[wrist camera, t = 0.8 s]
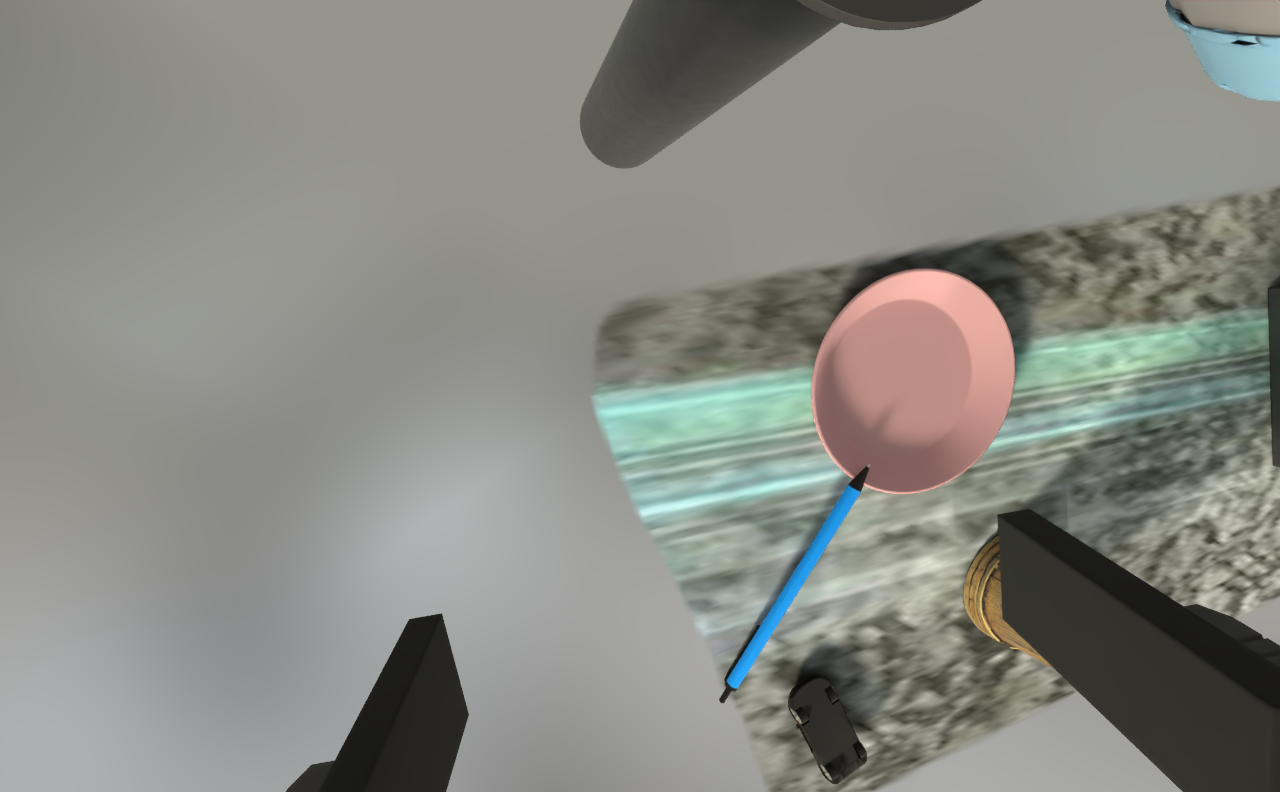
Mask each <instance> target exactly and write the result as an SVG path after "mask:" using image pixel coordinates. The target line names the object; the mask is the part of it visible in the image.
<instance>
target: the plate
mask: <svg viewBox="0 0 1280 792" xmlns="http://www.w3.org/2000/svg"><path fill="white" fill-rule="evenodd" d="M1014 383H1015V354H1014V347H1013V342H1012V338H1011V335H1010V331H1009V329H1008V326H1007V324H1006V321H1005V319H1004V317H1003V315H1002V313H1001V312H1000V310H999V309H998V307H997V306H996V304H995V303H994V302H993V300H992V299H991V298H990V297H989V296H988V295H987V294H986V293H985V292H984V291H983V290H982V289H981V288H980V287H978V286H977V285H976V284H974V283H973V282H971V281H970V280H968V279H966V278H964V277H962V276H960V275H958V274H955V273H952V272H949V271H945V270H940V269H932V268H917V269H909V270H904V271H900V272H897V273H894V274H891V275H888V276H886V277H884V278H882V279H879V280H878V281H876V282H874V283H872V284H871V285H869V286H868V287H866V288H865V289H863V290H862V291H861V292H860V293H858V294H857V295H856V296H855V297H854V298H853V299H852V300H851V301H850V302H849V303H848V304H847V305H846V306H845V307H844V308H843V309H842V310H841V312H840V313H839V314H838V315H837V317H836V318H835V320H834V321H833V323H832V324H831V326H830V327H829V329H828V331H827V333H826V335H825V337H824V339H823V341H822V344H821V346H820V349H819V351H818V354H817V358H816V361H815V365H814V370H813V376H812V386H811V402H812V411H813V417H814V421H815V425H816V429H817V432H818V434H819V437H820V439H821V441H822V443H823V445H824V447H825V449H826V451H827V452H828V454H829V455H830V457H831V458H832V460H833V461H834V462H835V463H836V464H837V465H838V467H839V468H840V469H841V470H842V471H844V472H845V473H846V474H847V475H848V476H850V477H851V478H852V479H854V478H855V477H856V476H857V475H858V474H859V473H860V472H861V471H862V470H863V468H864V467H865V466H867V465H868V464H869V465H870V466H869V471H868V474H867V476H866V479H865V482H864V485H865V486H867V487H869V488H872V489H875V490H878V491H882V492H887V493H895V494H909V493H917V492H922V491H926V490H930V489H933V488H936V487H938V486H941V485H943V484H945V483H947V482H949V481H951V480H953V479H954V478H956V477H957V476H959V475H960V474H962V473H963V472H965V471H966V470H967V469H968V468H969V467H971V466H972V465H973V464H974V463H975V462H976V461H977V460H978V459H979V458H980V457H981V456H982V455H983V454H984V452H985V451H986V450H987V449H988V447H989V446H990V445H991V443H992V442H993V440H994V439H995V437H996V435H997V434H998V432H999V430H1000V428H1001V426H1002V424H1003V422H1004V420H1005V417H1006V415H1007V412H1008V409H1009V406H1010V403H1011V399H1012V395H1013V390H1014Z"/></svg>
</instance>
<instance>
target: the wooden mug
mask: <svg viewBox="0 0 1280 792" xmlns="http://www.w3.org/2000/svg"><path fill="white" fill-rule="evenodd" d="M963 603H964V605H965V608H966V611H967V614H968V616H969V617H970V619H971V620H972V621H973V623H974V624H975V625H976V626H977V627H978V628H979V629H980V630H981V631H982V632H983V633H985V634H987V635H988V636H990V637H992V638H994V639H995V640H997V641H999V642H1001V643H1002V644H1004V645H1006V646H1008V647H1010V648H1013V649H1020V650H1022V651H1023V652H1025V653H1027V654H1029V655H1030V656H1032V657H1034V658H1036V659H1038V660H1039V661H1041V662H1043V663H1045V664H1046V665H1048V666H1050V667H1052V666H1051V665H1050V664H1049V663H1048V662H1047V661H1046V660H1045V659H1044V658H1043V657H1042V656H1041V655H1040V654H1039V653H1038V652H1036V651H1035V650H1034V649H1033V648H1032V647H1031V646H1030V645H1029V644H1028V643H1027V642H1026V641H1025V640H1024V639H1023V638H1022V637H1021V636H1020V635H1019V634H1018V633H1017V632H1016V631H1015V630H1014V629H1012V628H1011V627H1010V626H1009V625H1008V624H1007V623H1006V622H1005V621H1004V620H1003V618H1002V597H1001V576H1000V555H999V535H998V536H997V537H996V538H994V539H993V540H992V541H990V542H989V543H988V544H986V545H985V547H984V548H983V549H982V550H981V551H980V553H979V554H978V555H977V556H976V557H975V559H974V561H973V563H972V565H971V567H970V569H969V571H968V573H967V577H966V581H965V585H964V596H963ZM1052 668H1053V667H1052Z"/></svg>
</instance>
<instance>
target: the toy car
mask: <svg viewBox="0 0 1280 792" xmlns="http://www.w3.org/2000/svg"><path fill="white" fill-rule="evenodd" d="M831 685H832V684H831V683H830V682H829V681H828V680H827V679H825V678H824V677H822V676H820V675H811V676H809V677H807V678H805V679H803V680H802V681H801V682H799V683H798V684H797V685H796V686H795V687H794V688H793V689H792V691H791V692H790V695H789V700H788V707H789V710H790V712H791V714H792V716H793V718H794V719H795V721H796V723H797V725H796V727H797V729H798V728H800V730H801V732H802V734H803V736H804V738H805V740H806V742H807V744H808V745H809V747H810V749H811V752H812V754H813V755H814V757H815V759H816V761H817V764H818V766H819V768H820V770H821V772H822V773H823V775H824V776H825V778H826V779H827V780H828V781H830V782H831V783H832V784H838V783H840V782H841V781H845V778H846V777H848V776H849V775H850V774H852V773H853V772H854V771H856V770H859V768H860V767H861V766H862V765H863V764H865V763H866V761H867V753H866V750H865V748H864V747H863V745H862V743H860V741H859V739H858V737H857V735H856V733H855V731H854V729H853V727H852V725H851V723H850V721H849V719H848V717H847V715H846V713H845V711H844V709H843V707H842V705H841V703H840V700H839V699H838V696H837V694H836V692H835V690H834V689H833V687H832V686H831Z"/></svg>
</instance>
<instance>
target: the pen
mask: <svg viewBox="0 0 1280 792" xmlns="http://www.w3.org/2000/svg"><path fill="white" fill-rule="evenodd" d="M869 466H870V465H869V464H868V465H867V466H865V467H864V468H863V470H862V471H861V472H860V473H859V474H858V475H857V476H856V477H855V478H854V479H853V480H852V481H851V482H850V483H849V484H848V485H847V487H846V489H845V490H844V492H843V494H842V495H841V497H840V498H839V500H838V502H837V503H836V505H835V506H834V508H833V510H832V511H831V513H830V514H829V516H828V518H827V519H826V521H825V523H824V524H823V526H822V527H821V529H820V531H819V532H818V534H817V535H816V537H815V539H814V540H813V542H812V543H811V545H810V547H809V548H808V550H807V552H806V553H805V555H804V556H803V558H802V560H801V561H800V563H799V564H798V566H797V568H796V569H795V571H794V572H793V574H792V576H791V577H790V579H789V580H788V582H787V584H786V585H785V587H784V589H783V590H782V592H781V593H780V595H779V597H778V598H777V600H776V601H775V603H774V605H773V606H772V608H771V609H770V611H769V613H768V614H767V616H766V618H765V619H764V621H763V622H762V624H761V626H760V625H757V627H756V628H755V630H754V631H753V633H752V635H751V636H750V638H749V640H748V641H747V643H746V644H745V646H744V648H743V649H742V651H741V653H740V654H739V656H738V657H737V659H736V661H735V662H734V664H733V666H732V667H731V669H730V670H729V672H728V674H727V675H726V677H725V680H724V681H725V685H726V687H727V688H726V689H725V691H724V692H723V694H722V696H721V698H720V699H719V701H720V702H721V703H724V702H725V700H726V699H727V697H728V696H729V694H730V693H731V691H736V690H737V689H738V687H739V686H740V684H741V682H742V681H743V679H744V678H745V676H746V674H747V673H748V671H749V670H750V668H751V666H752V665H753V663H754V662H755V660H756V658H757V657H758V655H759V654H760V652H761V650H762V649H763V647H764V646H765V644H766V642H767V641H768V639H769V638H770V636H771V635H772V633H773V631H774V630H775V628H776V627H777V625H778V623H779V622H780V620H781V619H782V617H783V615H784V614H785V612H786V611H787V609H788V607H789V606H790V604H791V603H792V601H793V599H794V598H795V596H796V595H797V593H798V591H799V590H800V588H801V587H802V585H803V584H804V582H805V580H806V579H807V577H808V576H809V574H810V572H811V571H812V569H813V568H814V566H815V564H816V563H817V561H818V560H819V558H820V556H821V555H822V553H823V552H824V550H825V548H826V547H827V545H828V544H829V542H830V540H831V539H832V537H833V536H834V534H835V533H836V531H837V529H838V528H839V526H840V525H841V523H842V521H843V520H844V518H845V517H846V515H847V513H848V512H849V510H850V509H851V507H852V505H853V504H854V502H855V501H856V499H857V497H858V496H859V494H860V493H861V490H862V488H863V485H864V482H865V479H866V476H867V474H868V471H869Z"/></svg>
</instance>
